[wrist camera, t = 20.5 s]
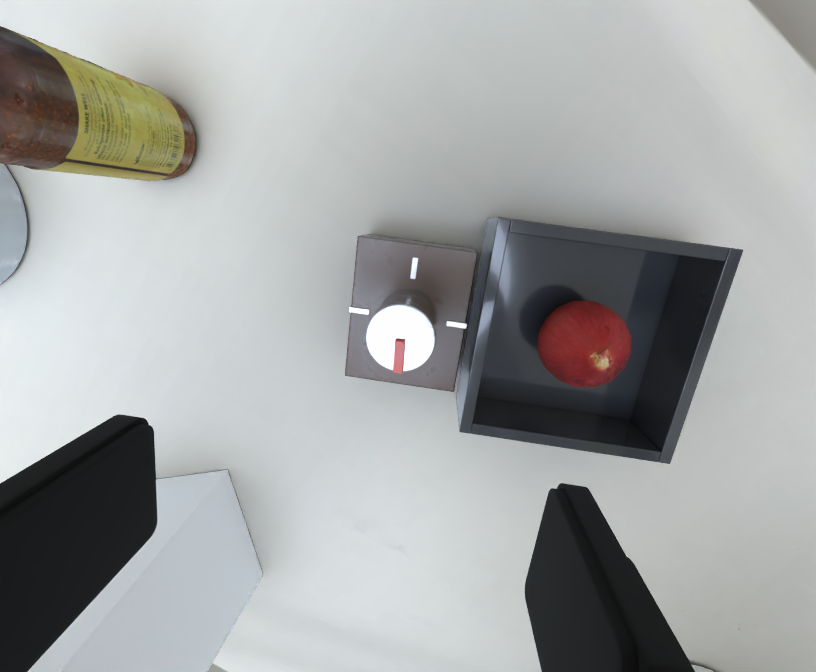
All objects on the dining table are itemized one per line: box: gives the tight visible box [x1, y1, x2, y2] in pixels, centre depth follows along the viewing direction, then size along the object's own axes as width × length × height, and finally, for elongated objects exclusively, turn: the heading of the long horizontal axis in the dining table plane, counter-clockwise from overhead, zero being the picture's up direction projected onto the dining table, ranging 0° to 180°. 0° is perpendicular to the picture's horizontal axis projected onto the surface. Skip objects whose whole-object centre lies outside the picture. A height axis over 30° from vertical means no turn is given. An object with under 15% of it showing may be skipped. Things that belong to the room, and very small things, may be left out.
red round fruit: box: [537, 301, 631, 388], centre depth 28 cm, size 6×6×8 cm
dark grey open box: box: [456, 217, 743, 464], centre depth 30 cm, size 15×15×6 cm
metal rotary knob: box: [366, 289, 437, 374], centre depth 26 cm, size 4×4×6 cm
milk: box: [28, 470, 263, 672], centre depth 28 cm, size 12×12×26 cm
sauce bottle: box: [0, 26, 196, 181], centre depth 22 cm, size 7×6×20 cm
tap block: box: [345, 234, 478, 392], centre depth 31 cm, size 8×10×5 cm
